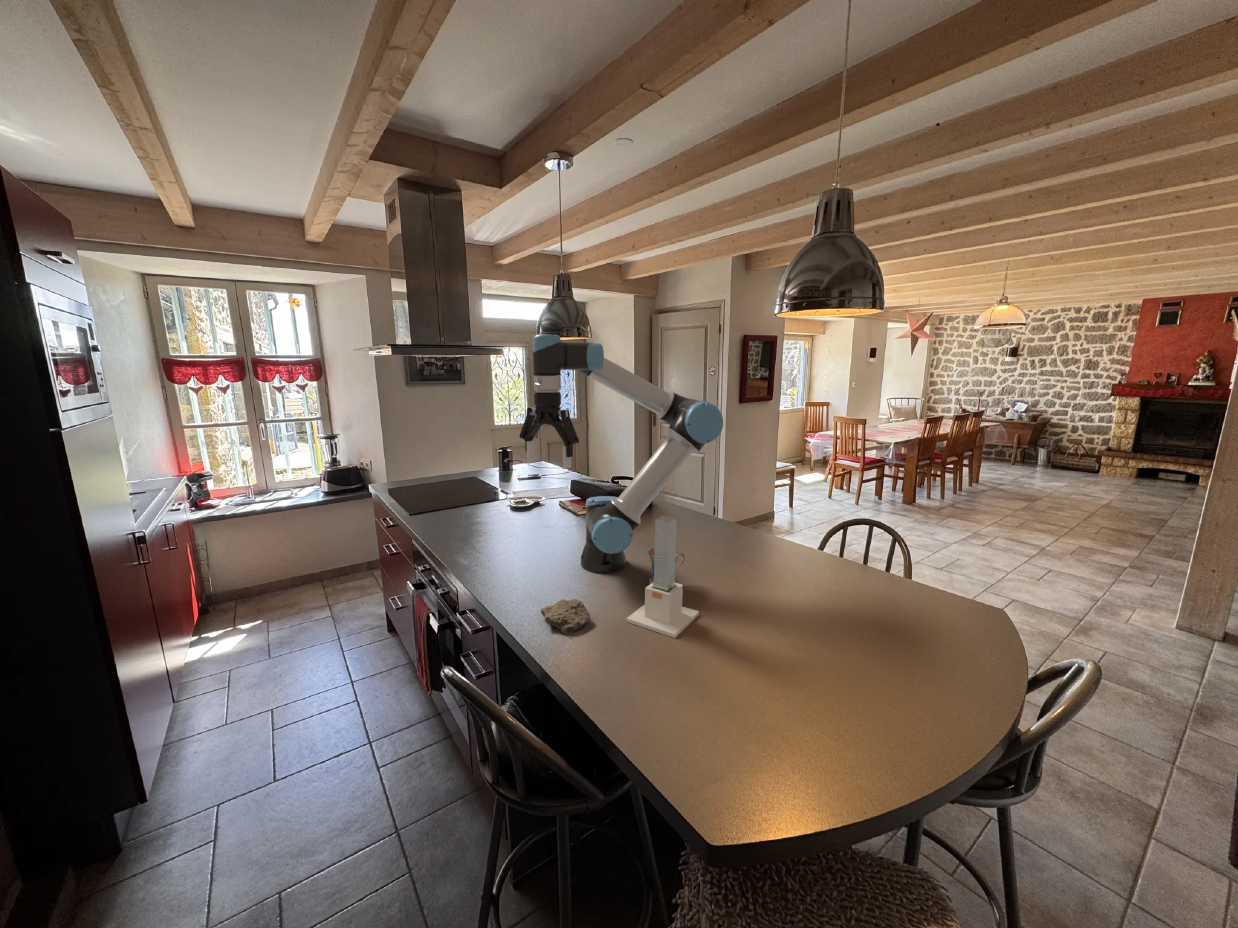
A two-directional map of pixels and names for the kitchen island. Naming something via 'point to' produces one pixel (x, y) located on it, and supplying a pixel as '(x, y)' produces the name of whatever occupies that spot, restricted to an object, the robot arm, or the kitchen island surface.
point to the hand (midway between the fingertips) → (548, 465)
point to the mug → (651, 554)
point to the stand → (663, 612)
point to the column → (665, 553)
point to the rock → (566, 615)
